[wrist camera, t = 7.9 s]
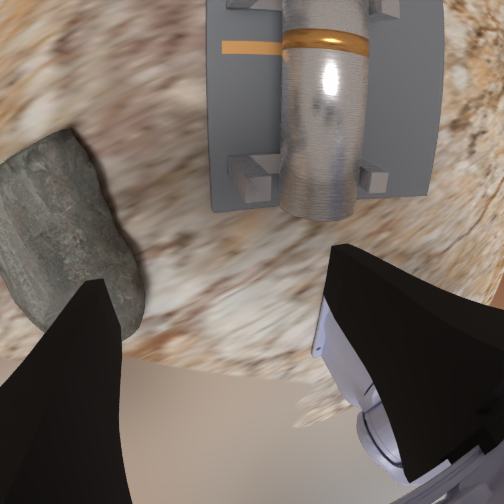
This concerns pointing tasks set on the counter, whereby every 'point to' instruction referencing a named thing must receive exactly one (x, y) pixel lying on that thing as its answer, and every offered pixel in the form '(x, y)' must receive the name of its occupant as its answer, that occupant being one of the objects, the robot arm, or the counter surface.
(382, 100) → the board
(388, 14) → the collar
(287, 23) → the tube
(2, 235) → the stone
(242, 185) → the collar
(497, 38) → the counter surface
